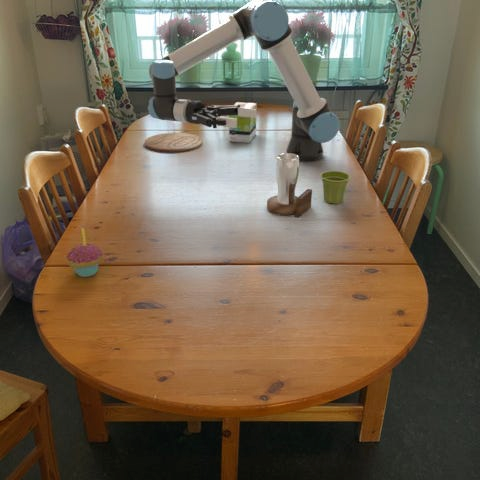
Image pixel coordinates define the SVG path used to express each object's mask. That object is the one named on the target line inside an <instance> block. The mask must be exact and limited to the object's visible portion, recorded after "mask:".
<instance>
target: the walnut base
mask: <svg viewBox="0 0 480 480" xmlns="http://www.w3.org/2000/svg"><path fill="white" fill-rule="evenodd" d="M277 196H278V194H277V195H274V196H271V197H269V198H267V201H266V209H267V210H268V212H269V213H271V214H273V215H277V216H284V217H285V216H286V217H291V216H295V217H296V218H301V217H303V215H304V214H306V212H308V211H309V210H310V209H311V207H312V196H313V189H310V188H307V189H306V190H305V191H303V192H302V193H301V194H300V195H299V196H296V195H295V200H296V202H295V204H294V205H290V206H283V205H279V204H278V203H277V202H276V200H277Z"/></svg>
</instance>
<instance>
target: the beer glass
mask: <svg viewBox="0 0 480 480" xmlns="http://www.w3.org/2000/svg"><path fill="white" fill-rule="evenodd" d="M299 171H300V161H299V156H298V155H296V154H291V153H280V154H278V155H277V156H276V167H275V174H276V175H275V176H276V177H275V178H276V183H277V184H276V185H277V195H278V196H277V195H276V196H277V200H276V202H277V203H278V204H279V205H283V206H290V205H294V204H295V202H296V200H295V196H296V188H297V183H298V179H299V175H300V174H299V173H300V172H299Z"/></svg>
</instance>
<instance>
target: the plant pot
mask: <svg viewBox="0 0 480 480" xmlns="http://www.w3.org/2000/svg"><path fill="white" fill-rule="evenodd" d="M320 178H321V182H322V189H323V200H324V202H326V203H327V204H331V203H332V204H335V205H336V204H341V203H342V202H343V201H344V198H345V193H346V189H347V185H348V183H349V180H350V179H351V175H350V174H349V173H347V172H343V171H341V170H339V171H337V170H328V171H324V172H321V174H320Z"/></svg>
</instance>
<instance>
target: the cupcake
mask: <svg viewBox="0 0 480 480" xmlns="http://www.w3.org/2000/svg"><path fill="white" fill-rule="evenodd" d="M81 226H82V227H81V236H82V244H80V245H76V246H74V247H73V248H71V249H70V250H69V251H68V253H67V255H66V262H67V264H68V266H69V267H71V268H73V269H74V270H75V272H76V274H77V275H78V276H79V277H82V278H83V277H84V278H87V277H92V276H94V275H95V274H96V273H97V272H98V267H99V264H100V262H102V261H103V259H104V253H103V251H102V249H101V248H100V247H99V246H97V245H95V244H90V243H87V242H86V234H85V232H86V231H85V227H84V224H82V225H81Z"/></svg>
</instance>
